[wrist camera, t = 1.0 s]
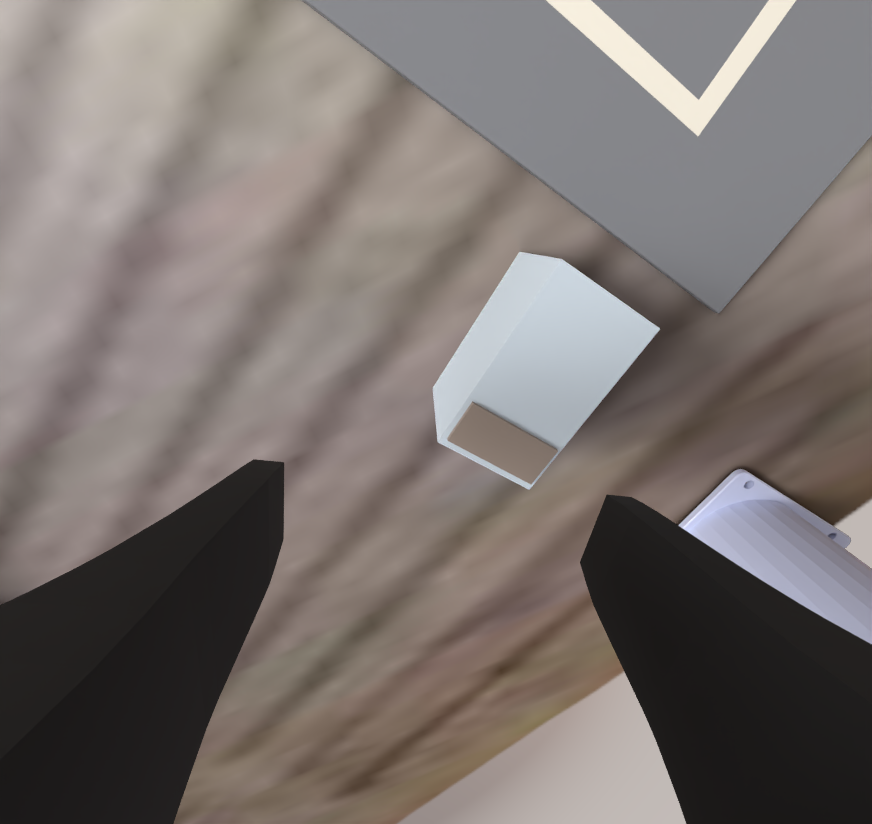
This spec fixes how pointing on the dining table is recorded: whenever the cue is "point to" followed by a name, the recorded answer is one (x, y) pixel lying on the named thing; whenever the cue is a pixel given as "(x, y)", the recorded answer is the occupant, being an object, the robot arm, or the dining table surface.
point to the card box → (535, 367)
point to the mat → (650, 109)
